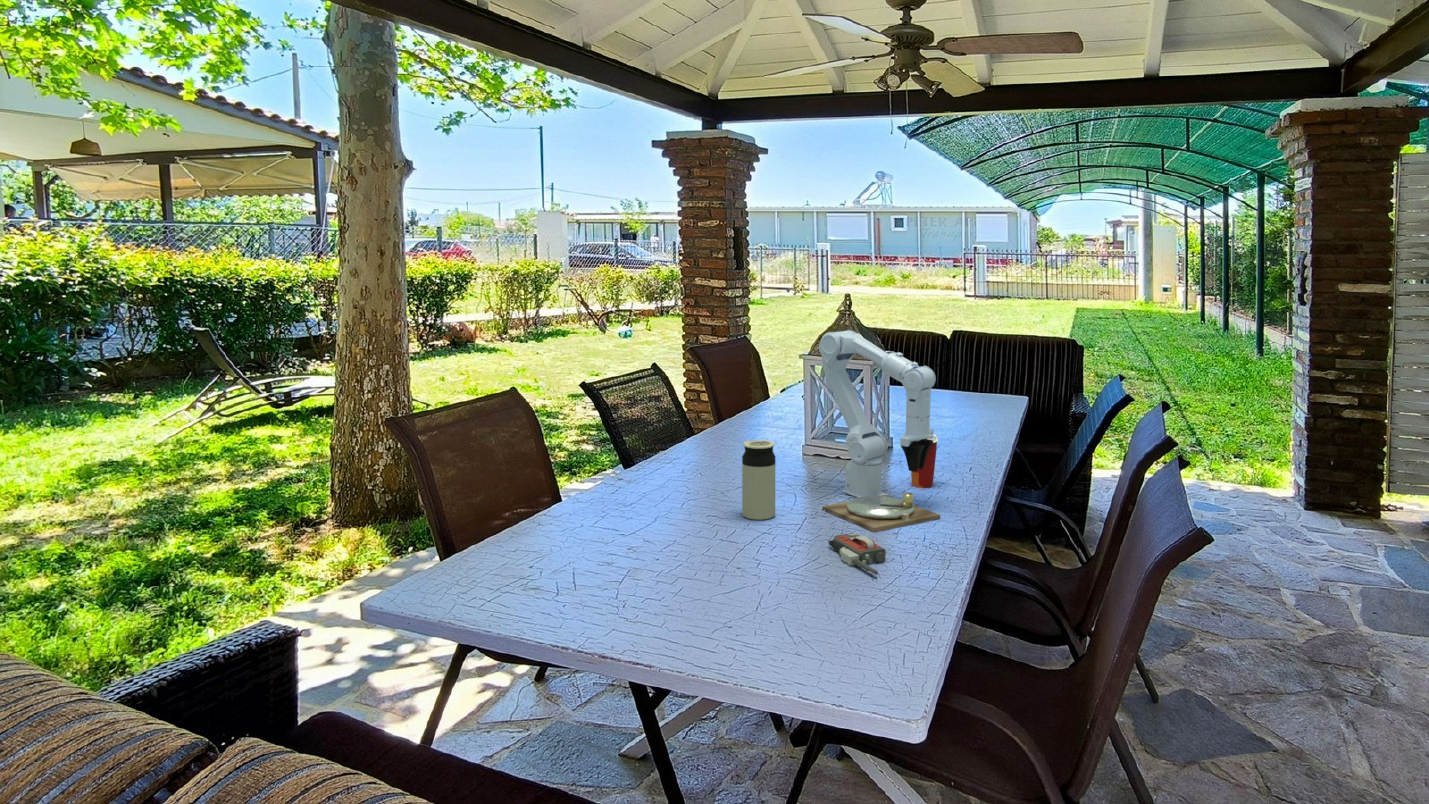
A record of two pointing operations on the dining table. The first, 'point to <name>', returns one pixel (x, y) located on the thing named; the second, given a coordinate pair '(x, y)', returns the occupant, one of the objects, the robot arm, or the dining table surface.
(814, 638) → the dining table surface
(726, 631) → the dining table surface
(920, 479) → the paper cup
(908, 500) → the capstan dial
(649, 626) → the dining table surface
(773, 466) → the travel mug
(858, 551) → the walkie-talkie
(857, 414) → the robot arm
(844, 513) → the dial base
